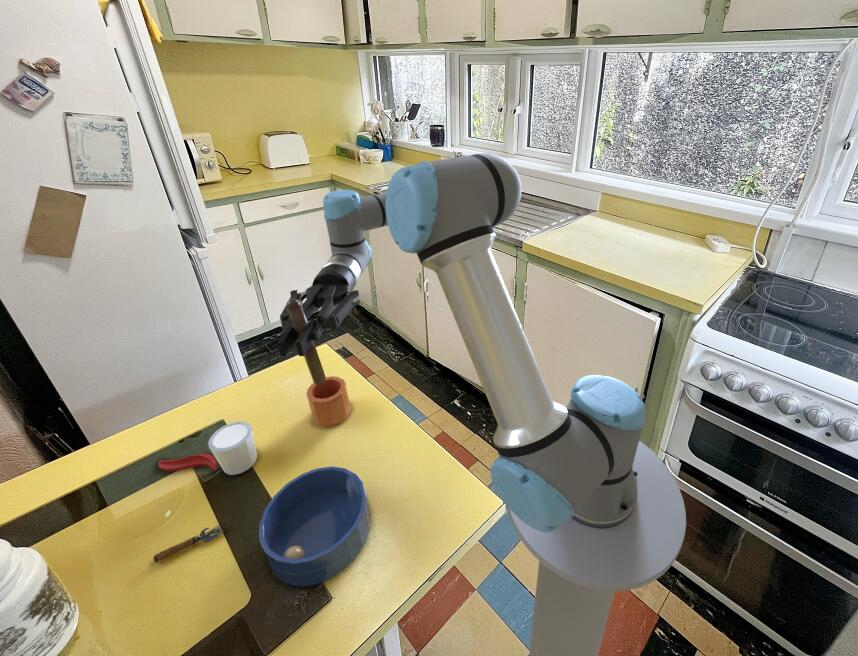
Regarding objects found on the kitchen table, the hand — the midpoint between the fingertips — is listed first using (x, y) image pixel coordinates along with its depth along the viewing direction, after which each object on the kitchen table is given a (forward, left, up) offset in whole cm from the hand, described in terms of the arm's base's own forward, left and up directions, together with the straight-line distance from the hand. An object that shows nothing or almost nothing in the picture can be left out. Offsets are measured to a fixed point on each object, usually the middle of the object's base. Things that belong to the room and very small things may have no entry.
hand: (290, 349), depth 65 cm
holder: (+4, -12, -27) cm, 30 cm away
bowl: (-7, +12, -27) cm, 30 cm away
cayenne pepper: (+24, +3, -27) cm, 37 cm away
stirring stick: (+1, -7, -13) cm, 15 cm away
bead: (-5, +15, -24) cm, 29 cm away
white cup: (+15, +2, -27) cm, 31 cm away
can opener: (+12, +17, -27) cm, 34 cm away
